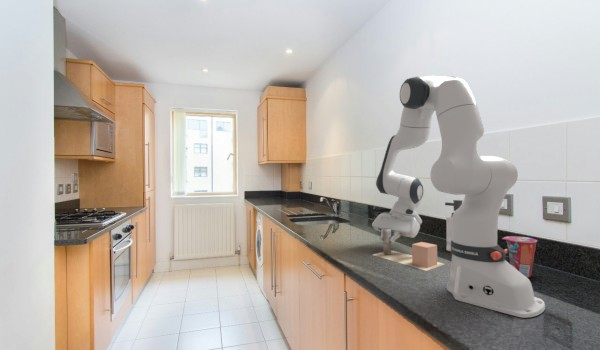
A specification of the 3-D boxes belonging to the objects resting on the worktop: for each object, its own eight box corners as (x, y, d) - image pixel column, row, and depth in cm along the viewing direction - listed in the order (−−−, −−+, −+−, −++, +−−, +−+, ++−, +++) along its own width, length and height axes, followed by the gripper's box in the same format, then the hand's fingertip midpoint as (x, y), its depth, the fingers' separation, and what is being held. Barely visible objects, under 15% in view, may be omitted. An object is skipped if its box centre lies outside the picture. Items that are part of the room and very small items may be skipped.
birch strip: (446, 267, 104) (445, 236, 104) (426, 274, 97) (426, 241, 97) (390, 252, 124) (390, 226, 124) (371, 257, 117) (371, 229, 117)
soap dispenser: (451, 247, 133) (450, 199, 132) (470, 251, 125) (469, 200, 125) (441, 249, 129) (441, 199, 129) (460, 253, 122) (460, 201, 122)
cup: (517, 269, 102) (517, 235, 102) (544, 277, 94) (543, 240, 94) (497, 272, 99) (497, 237, 99) (523, 280, 91) (523, 242, 91)
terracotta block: (437, 264, 104) (437, 245, 104) (427, 267, 100) (427, 247, 100) (421, 260, 109) (421, 241, 109) (412, 263, 105) (412, 244, 105)
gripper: (378, 207, 130) (363, 231, 125) (419, 212, 114) (404, 240, 108) (384, 216, 133) (370, 240, 127) (426, 222, 116) (411, 250, 111)
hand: (386, 240), depth 118 cm, fingers closed on birch strip, 3 cm apart
